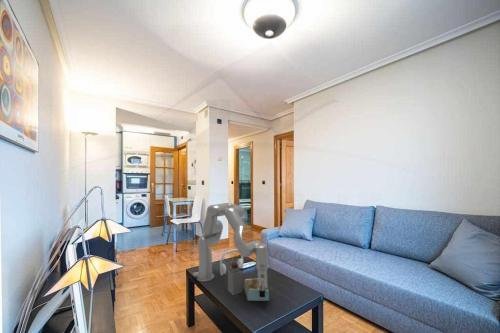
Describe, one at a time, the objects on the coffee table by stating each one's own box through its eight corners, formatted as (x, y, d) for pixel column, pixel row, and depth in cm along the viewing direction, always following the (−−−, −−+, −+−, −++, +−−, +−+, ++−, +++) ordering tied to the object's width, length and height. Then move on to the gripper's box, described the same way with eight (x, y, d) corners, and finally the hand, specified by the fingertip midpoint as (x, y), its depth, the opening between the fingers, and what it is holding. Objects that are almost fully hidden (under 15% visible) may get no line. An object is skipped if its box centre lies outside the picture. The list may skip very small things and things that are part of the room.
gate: (247, 300, 131) (247, 290, 131) (247, 299, 132) (247, 289, 132) (268, 300, 131) (268, 290, 131) (268, 299, 132) (268, 289, 132)
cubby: (247, 300, 132) (247, 289, 133) (244, 289, 145) (244, 279, 145) (267, 298, 135) (267, 287, 135) (263, 287, 147) (263, 277, 147)
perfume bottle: (242, 292, 142) (241, 264, 142) (233, 295, 138) (233, 267, 138) (236, 287, 147) (236, 260, 147) (227, 290, 143) (227, 263, 144)
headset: (222, 278, 161) (222, 253, 161) (218, 274, 166) (218, 250, 167) (245, 270, 172) (244, 248, 172) (240, 267, 178) (240, 245, 178)
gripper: (269, 271, 122) (269, 303, 122) (267, 260, 137) (267, 289, 137) (256, 271, 122) (256, 304, 122) (255, 260, 137) (255, 289, 137)
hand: (262, 296), depth 129 cm, fingers closed
